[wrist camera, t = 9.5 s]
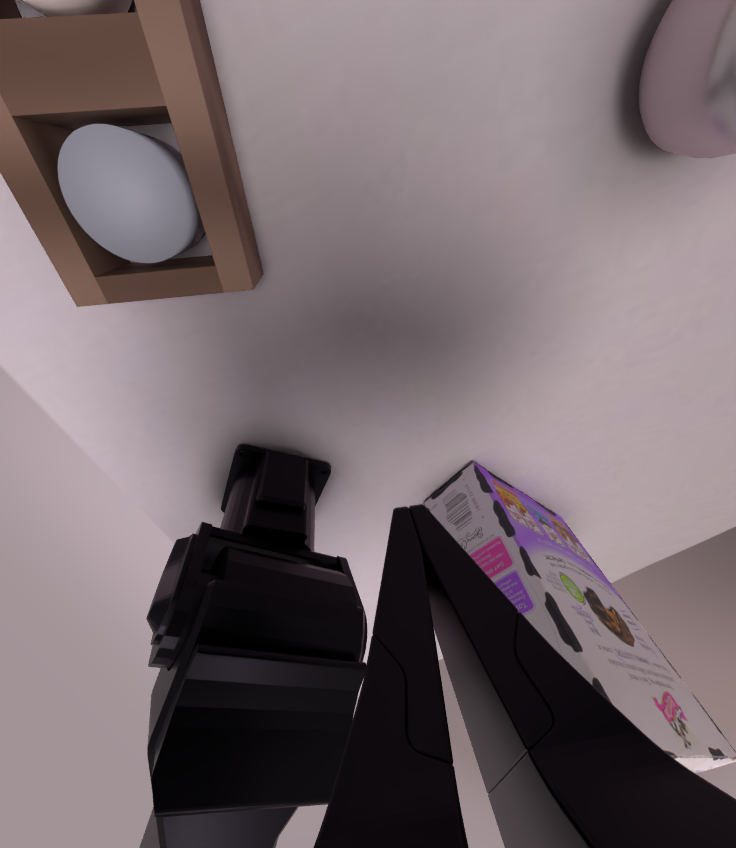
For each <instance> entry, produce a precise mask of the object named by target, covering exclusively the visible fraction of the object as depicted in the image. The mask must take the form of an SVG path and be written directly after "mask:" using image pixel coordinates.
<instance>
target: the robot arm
mask: <svg viewBox="0 0 736 848" xmlns="http://www.w3.org/2000/svg"><path fill="white" fill-rule="evenodd" d="M241 451H244V452H246V453H242V452H241ZM322 469H326V470H322ZM330 474H331V466H330V465H329V464H328V463H325V462H320V461H316V460H312V459H307V458H303V457H298V456H294V455H289V454H285V453H281V452H276V451H272V450H267V449H263V448H259V447H254V446H250V445H245V444H241V445H239V446H237V448H236V450H235V454H234V458H233V462H232V466H231V470H230V474H229V478H228V482H227V486H226V490H225V494H224V497H223V501H222V505H221V510H222V512H224V513H225V514H224V517H223V521H222V524H221V527H220V528H217V527H213V526H212V524H208V523H204V522H202V523H201V524H200V526H199V528H198V530H197V532H196V534H192V535H190V537H186V538H182V539H178V540H176V542H175V545H174V547H173V549H172V552H171V554H170V556H169V559H168V561H167V564H166V566H165V569H164V571H163V574H162V577H161V579H160V582H159V584H158V587H157V590H156V593H155V596H154V598H153V601H152V604H151V607H150V610H149V613H148V615H147V621H148V623H149V625H150V627H151V629H152V631H153V636H152V640H151V645H153V647H152V651H151V655H150V659H149V664H148V666H149V667H158V668H161V669H160V672H159V675H158V677H157V680H156V682H155V685H154V688H153V691H152V695H151V708H150V722H149V736H148V762H149V769H150V776H151V784H152V792H153V804H154V807H153V810H152V813H151V816H150V819H149V822H148V825H147V827H146V830H145V834H144V836H143V839H142V842H141V845H140V848H275V847H276V843H277V840H278V837H279V835H280V834H281V832H282V831H283V829H284V828H285V826H286V825H287V823H288V822H289V820H290V819H291V817H292V816H293V814H294V813H295V811H296V810H297V808H298V807H299V806H311V805H325V804H328V807H327V810H326V813H325V816H324V819H323V822H322V825H321V828H320V831H319V834H318V837H317V840H316V842H315V845H314V848H468V843H467V838H466V833H465V828H464V823H463V818H462V813H461V807H460V802H459V796H458V790H457V784H456V778H455V771H454V767H453V765H452V764H453V758H452V750H451V744H450V737H449V730H448V723H447V717H446V710H445V703H444V696H443V690H442V682H441V676H440V669H439V662H438V655H437V648H436V641H435V634H434V630H435V633H436V636H437V639H438V642H439V645H440V648H441V651H442V655H443V658H444V661H445V664H446V667H447V670H448V673H449V676H450V679H451V682H452V685H453V688H454V692H455V694H456V698H457V701H458V704H459V707H460V710H461V713H462V716H463V719H464V722H465V725H466V729H467V732H468V735H469V738H470V741H471V744H472V747H473V750H474V753H475V756H476V759H477V762H478V766H479V769H480V772H481V774H482V778H483V781H484V784H485V787H486V790H487V792H488V793H489V794H488V797H489V800H490V803H491V806H492V809H493V812H494V815H495V818H496V821H497V824H498V827H499V831H500V833H501V837H502V840H503V843H504V846H505V848H736V799H735V798H733V797H731V796H730V795H728V794H727V793H725V792H724V791H722V790H720V789H719V788H717V787H716V786H714V785H713V784H711V783H709V782H708V781H706V780H705V779H703V778H701V777H700V776H698V775H696V774H695V773H694V772H692V771H691V770H689V769H688V768H686V767H685V766H684V765H682V764H681V763H679V762H678V761H677V760H675V759H674V758H673V757H671V756H670V755H669V754H668V753H666V752H665V751H664V750H662V749H661V748H660V747H659V746H658V745H656V744H655V743H654V742H653V741H652V740H651V739H650V738H648V737H647V736H646V735H645V734H644V733H643V732H642V731H641V730H640V729H639V728H637V727H636V726H635V725H634V724H633V723H632V722H631V721H630V720H629V719H628V718H627V717H626V716H625V715H624V714H623V713H621V712H620V711H619V710H618V709H617V708H616V707H615V706H614V705H613V704H612V703H611V702H610V701H609V700H608V699H607V698H606V697H604V696H603V695H602V694H601V693H600V692H599V691H598V690H597V689H596V688H595V687H594V686H593V685H592V684H591V683H590V682H588V681H587V680H586V679H585V678H584V677H583V676H582V675H581V674H580V673H579V672H578V671H577V670H576V669H575V668H574V667H573V666H572V665H571V664H570V663H569V662H568V661H566V660H565V659H564V658H563V657H562V656H561V655H560V654H559V653H558V652H557V651H556V650H555V649H554V648H553V647H552V646H551V645H550V644H549V642H548V641H547V640H546V639H545V638H544V637H543V636H542V635H541V634H540V633H539V632H538V631H537V630H536V629H535V628H534V627H533V625H532V624H531V623H530V622H529V621H528V620H527V619H526V618H525V616H524V615H523V614H522V613H521V612H519V613H518V609H517V608H516V607H515V606H514V604H513V603H512V602H511V601H510V600H509V599H508V598H507V597H506V595H505V594H504V593H503V592H502V591H501V590H500V589H499V588H498V587H497V585H496V584H495V583H494V582H493V581H492V580H491V579H490V578H489V577H488V575H487V574H486V573H485V572H484V571H483V570H482V569H481V568H480V567H479V565H478V564H477V563H476V562H475V561H474V560H473V559H472V558H471V556H470V555H469V554H468V553H467V552H466V551H465V550H464V549H463V548H462V546H461V545H460V544H459V543H458V542H457V541H456V540H455V539H454V538H453V536H452V535H451V534H450V533H449V532H448V531H447V530H446V529H445V528H444V526H443V525H442V524H441V523H440V522H439V521H438V520H437V519H436V517H435V516H434V515H433V514H432V513H431V512H430V511H429V510H428V509H427V507H426V506H424V505H422V504H420V505H413V506H410V507H409V508H408V507H399V508H395V509H394V510H393V515H392V521H391V527H390V533H389V539H388V545H387V551H386V557H385V562H384V568H383V574H382V580H381V586H380V592H379V598H378V604H377V609H376V615H375V621H374V627H373V636H372V638H371V644H370V650H369V655H368V660H367V665H366V663H365V662H362V661H363V658H364V654H365V650H366V643H367V620H366V615H365V611H364V608H363V605H362V602H361V599H360V596H359V594H358V591H357V588H356V585H355V582H354V579H353V577H352V574H351V571H350V568H349V565H348V562H347V559H346V558H343V557H339V556H337V557H333V556H329V555H325V554H321V553H317V552H314V530H315V506H316V504H317V502H318V499H319V497H320V495H321V493H322V491H323V489H324V487H325V484H326V482H327V480H328V478H329V476H330ZM433 627H434V628H433ZM363 678H364V680H363ZM362 681H363V684H362ZM361 684H362V688H361V692H360V696H359V700H358V704H357V707H356V711H355V715H354V718H353V714H354V709H355V705H356V701H357V696H358V692H359V689H360V686H361Z"/></svg>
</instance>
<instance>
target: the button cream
mask: <svg viewBox="0 0 736 848" xmlns="http://www.w3.org/2000/svg"><path fill="white" fill-rule="evenodd" d="M22 1H24V2H25V3H27V4H28V5H30V6H32V7H33V8H35V9H36V10H38V11H40V12H41V13H43V14H44V15H46V16H48V17H54V16H74V15H94V14H113V13H128V10H129V8H130V6H131V3H132V0H22Z"/></svg>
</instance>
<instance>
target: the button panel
mask: <svg viewBox="0 0 736 848" xmlns="http://www.w3.org/2000/svg"><path fill="white" fill-rule="evenodd" d="M134 2H135V5H136V8H137V12H133V13H113V14H94V15H74V16H54V17H34V18H21V15H20V13H19V11H18V9H17V6H16V4H15V2H14V0H0V173H1V174H2V176H3V178H4V180H5V181H6V183H7V185H8V187H9V188H10V190H11V192H12V194H13V195H14V197H15V199H16V201H17V202H18V204H19V206H20V208H21V209H22V211H23V213H24V215H25V216H26V218H27V220H28V222H29V223H30V225H31V227H32V229H33V230H34V232H35V234H36V236H37V237H38V239H39V241H40V243H41V244H42V246H43V248H44V250H45V251H46V253H47V255H48V257H49V258H50V260H51V262H52V264H53V265H54V267H55V269H56V271H57V272H58V274H59V276H60V278H61V279H62V281H63V283H64V285H65V286H66V288H67V290H68V292H69V293H70V295H71V297H72V299H73V300H74V302H75V304H76V306H77V307H80V306H90V305H100V304H111V303H121V302H131V301H142V300H152V299H162V298H172V297H183V296H193V295H203V294H213V293H224V292H234V291H244V290H254V288H255V286H256V285H257V283H258V282H259V280H260V279H261V277H262V276H263V270H262V265H261V261H260V257H259V253H258V248H257V244H256V240H255V235H254V231H253V227H252V223H251V218H250V214H249V210H248V205H247V201H246V197H245V193H244V188H243V184H242V180H241V175H240V171H239V167H238V163H237V158H236V154H235V150H234V145H233V141H232V137H231V133H230V128H229V124H228V120H227V115H226V111H225V107H224V103H223V98H222V94H221V90H220V85H219V81H218V77H217V73H216V68H215V64H214V60H213V55H212V51H211V47H210V43H209V38H208V34H207V30H206V25H205V21H204V17H203V13H202V8H201V4H200V0H134ZM161 123H172V125H173V129H174V132H175V135H176V138H177V142H178V145H179V148H180V151H181V155H182V158H183V161H184V164H185V168H186V171H187V174H188V177H189V181H190V184H191V187H192V190H193V194H194V197H195V200H196V203H197V207H198V210H199V213H200V216H201V220H202V223H203V226H204V229H205V233H206V236H207V239H208V242H209V246H210V249H211V252H212V255H211V256H200V257H189V258H178V259H167V260H164V261H161V262H156V263H139V262H135V263H130V261H129V260H127V259H124V258H122V257H119V256H117V255H115V254H113V253H112V252H110V251H108V250H107V249H105V248H104V247H102V246H101V245H100V244H98V243H97V242H96V241H95V240H94V239H92V238H91V237H90V236H89V235H88V234H87V233H86V232H85V231H84V229H83V228H82V227H81V226H80V224H79V223H78V222H77V220H76V219H75V218H74V216H73V215H72V213H71V211H70V209H69V208H68V206H67V204H66V201H65V199H64V197H63V194H62V191H61V188H60V183H59V179H58V158H59V153H60V150H61V148H62V145H63V143H64V142H65V140H66V139H67V137H68V136H69V135H70V134H71V133H73V132H72V130H74V129H79V128H81V127H84V126H86V125H91V124H108V125H113V126H117V127H118V126H132V125H147V124H161Z"/></svg>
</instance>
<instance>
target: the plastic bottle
mask: <svg viewBox="0 0 736 848" xmlns="http://www.w3.org/2000/svg"><path fill="white" fill-rule="evenodd" d="M639 109H640V113H641V117H642V121H643V124H644V127H645V130H646V132H647V134H648V135H649V137H650V139H651V140H652V142H653V143H654V144H656V145H657V146H658V147H659V148H660V149H662V150H665V151H667V152H670V153H674V154H679V155H684V156H690V157H695V158H714V157H719V156H724V155H728V154H733V153H736V0H672V1H671V3H670V5H669V7H668V8H667V10H666V12H665V14H664V16H663V17H662V19H661V21H660V24H659V26H658V28H657V30H656V32H655V34H654V36H653V38H652V41H651V43H650V46H649V49H648V52H647V54H646V57H645V61H644V65H643V69H642V73H641V77H640V87H639Z"/></svg>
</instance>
